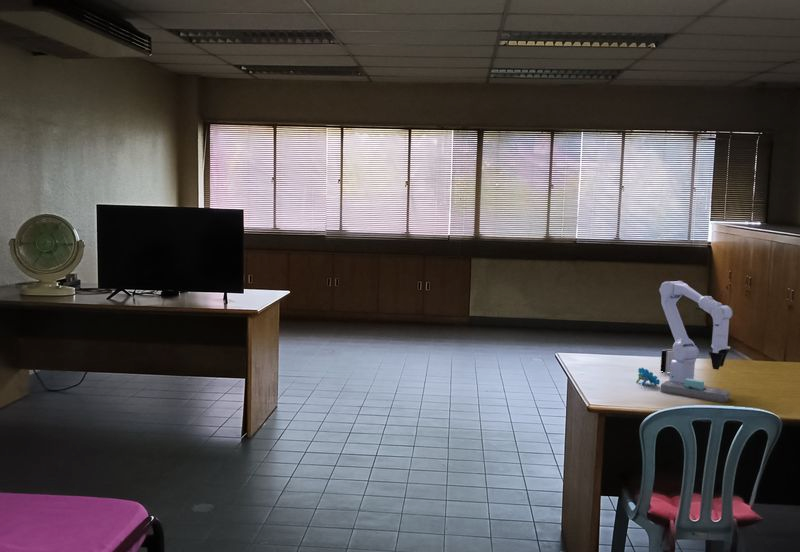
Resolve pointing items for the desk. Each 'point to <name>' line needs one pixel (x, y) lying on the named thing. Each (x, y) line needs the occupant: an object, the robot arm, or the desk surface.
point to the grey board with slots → (695, 391)
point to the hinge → (667, 359)
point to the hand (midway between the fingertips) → (717, 367)
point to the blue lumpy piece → (647, 376)
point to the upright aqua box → (694, 383)
